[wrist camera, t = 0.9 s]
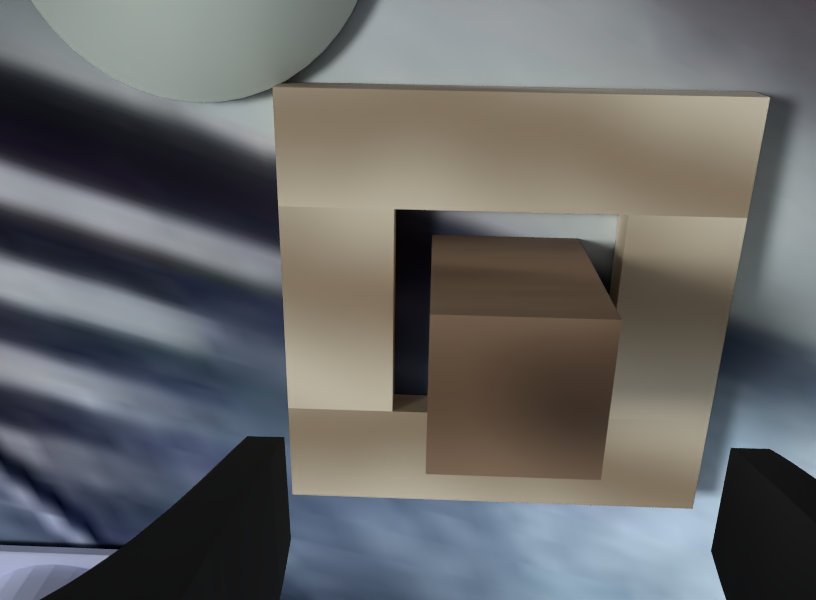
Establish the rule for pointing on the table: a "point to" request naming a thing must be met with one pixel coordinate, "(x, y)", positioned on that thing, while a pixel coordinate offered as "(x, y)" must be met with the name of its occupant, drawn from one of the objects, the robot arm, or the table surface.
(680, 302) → the pocket block
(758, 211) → the table surface
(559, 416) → the walnut block
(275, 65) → the disc
